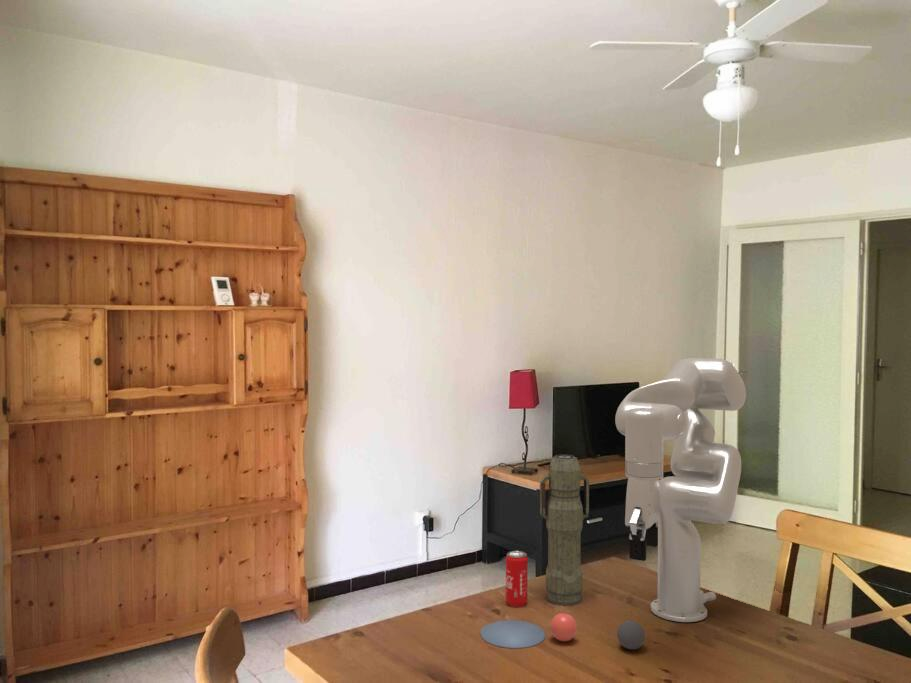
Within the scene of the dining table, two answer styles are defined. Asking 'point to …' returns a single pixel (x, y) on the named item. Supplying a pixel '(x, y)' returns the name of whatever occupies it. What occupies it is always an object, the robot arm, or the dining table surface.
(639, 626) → the gray ball
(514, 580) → the beverage can
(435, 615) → the dining table surface
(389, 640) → the dining table surface
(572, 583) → the thermos
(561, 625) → the red ball
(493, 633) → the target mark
